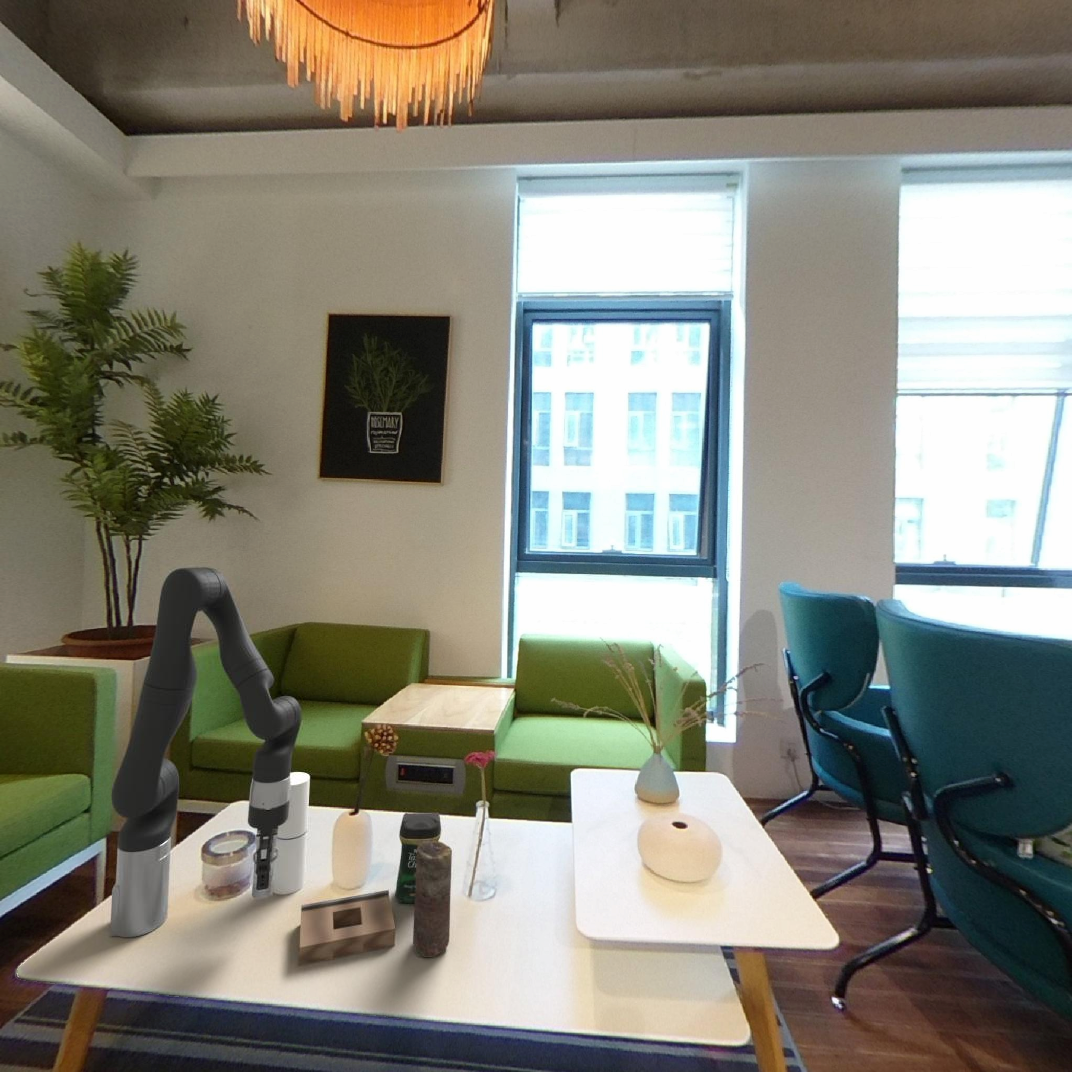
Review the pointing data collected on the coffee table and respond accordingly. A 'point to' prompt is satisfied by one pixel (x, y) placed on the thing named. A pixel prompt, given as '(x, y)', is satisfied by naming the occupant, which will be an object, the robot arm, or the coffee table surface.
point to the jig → (330, 914)
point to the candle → (432, 899)
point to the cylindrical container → (293, 838)
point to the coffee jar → (414, 849)
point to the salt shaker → (267, 892)
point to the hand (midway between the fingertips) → (263, 881)
